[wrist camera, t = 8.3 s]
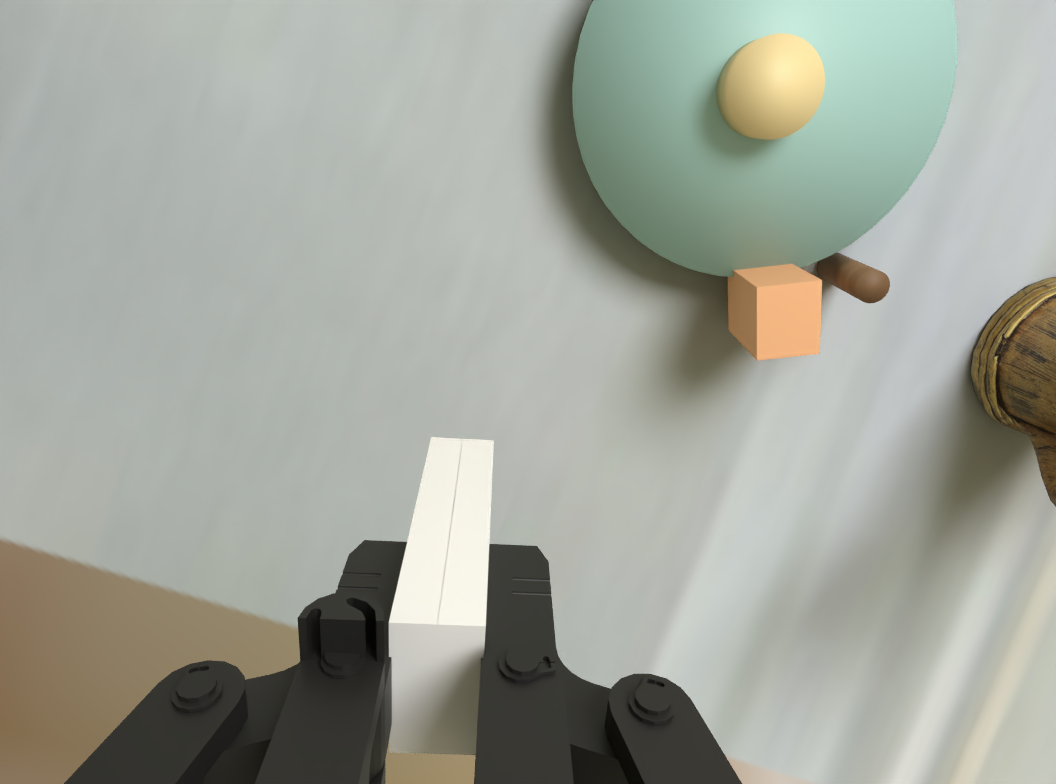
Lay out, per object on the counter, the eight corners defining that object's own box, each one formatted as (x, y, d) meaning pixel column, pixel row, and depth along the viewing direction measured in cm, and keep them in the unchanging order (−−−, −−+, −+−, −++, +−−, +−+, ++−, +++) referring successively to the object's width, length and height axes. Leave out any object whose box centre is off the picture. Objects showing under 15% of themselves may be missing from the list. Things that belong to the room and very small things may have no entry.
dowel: (811, 272, 39) (849, 292, 35) (829, 247, 39) (870, 264, 34) (834, 286, 39) (875, 309, 35) (852, 261, 39) (896, 281, 34)
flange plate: (592, 345, 39) (602, 377, 35) (554, -101, 32) (558, -141, 27) (922, 309, 39) (978, 336, 34) (962, -157, 31) (1042, -208, 26)
